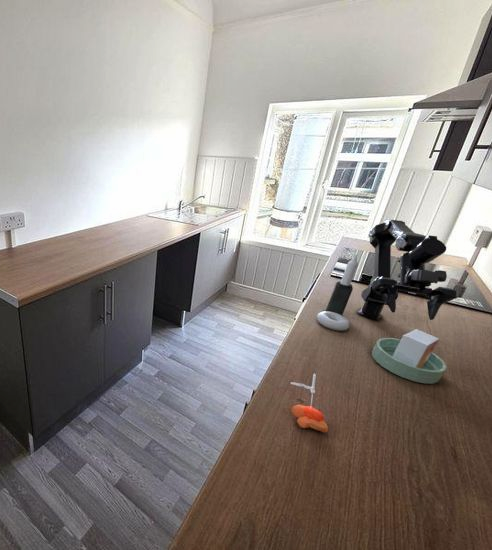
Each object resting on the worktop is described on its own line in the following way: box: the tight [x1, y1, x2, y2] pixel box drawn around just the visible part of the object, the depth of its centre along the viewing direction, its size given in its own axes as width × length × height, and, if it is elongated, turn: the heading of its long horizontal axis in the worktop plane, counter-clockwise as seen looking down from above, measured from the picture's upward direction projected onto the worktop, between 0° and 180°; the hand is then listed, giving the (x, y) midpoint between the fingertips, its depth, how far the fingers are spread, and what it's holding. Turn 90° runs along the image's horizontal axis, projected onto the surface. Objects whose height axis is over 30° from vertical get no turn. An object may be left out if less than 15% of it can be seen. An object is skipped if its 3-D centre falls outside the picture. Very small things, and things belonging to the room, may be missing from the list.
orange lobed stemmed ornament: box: [290, 373, 329, 433], centre depth 66 cm, size 6×10×12 cm, turn 39°
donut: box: [316, 310, 350, 332], centre depth 107 cm, size 10×4×10 cm
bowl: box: [371, 337, 447, 385], centre depth 87 cm, size 15×15×4 cm
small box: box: [392, 328, 440, 369], centre depth 85 cm, size 8×6×10 cm
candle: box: [325, 253, 359, 316], centre depth 109 cm, size 5×5×25 cm
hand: (412, 315), depth 89 cm, fingers open, 9 cm apart
